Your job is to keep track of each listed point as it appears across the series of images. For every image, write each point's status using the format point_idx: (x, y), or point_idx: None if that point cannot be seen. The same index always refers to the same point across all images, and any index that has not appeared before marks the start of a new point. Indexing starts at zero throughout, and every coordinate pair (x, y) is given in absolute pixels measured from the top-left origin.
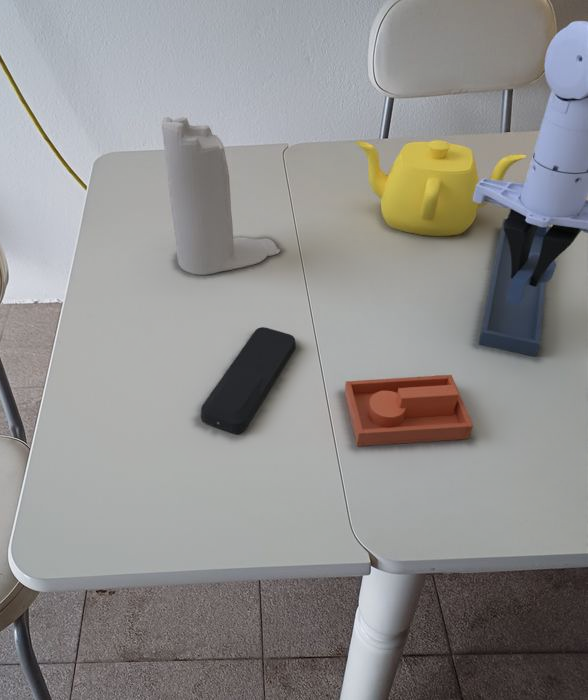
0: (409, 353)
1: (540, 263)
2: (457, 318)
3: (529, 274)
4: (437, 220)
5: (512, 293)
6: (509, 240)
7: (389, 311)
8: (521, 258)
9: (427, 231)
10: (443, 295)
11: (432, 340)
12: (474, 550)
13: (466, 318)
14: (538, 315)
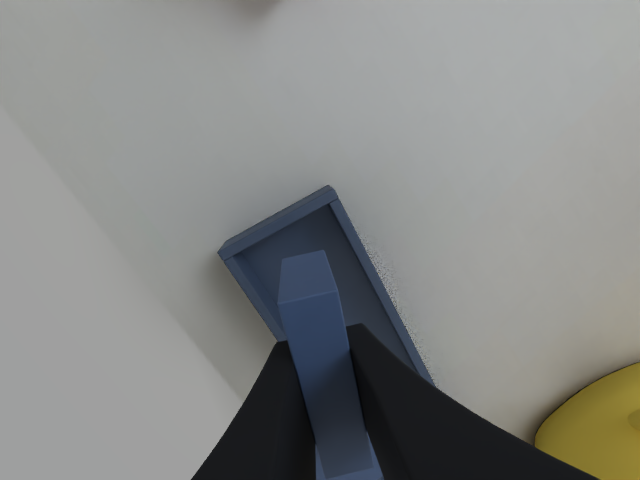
0: (421, 32)
1: (264, 423)
2: (408, 223)
3: (302, 358)
4: (616, 424)
5: (313, 264)
6: (521, 448)
7: (533, 128)
8: (371, 397)
9: (598, 392)
10: (469, 263)
11: (407, 117)
12: None
13: (394, 237)
14: (280, 330)
